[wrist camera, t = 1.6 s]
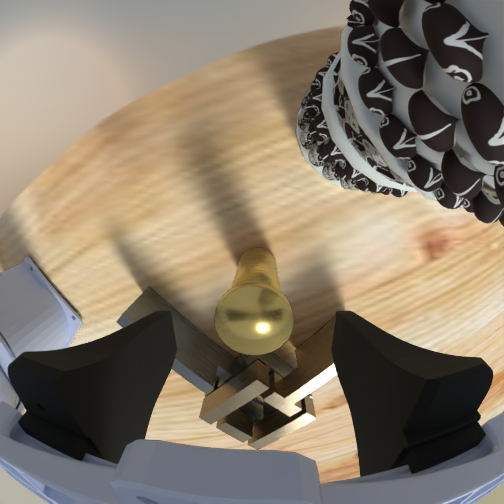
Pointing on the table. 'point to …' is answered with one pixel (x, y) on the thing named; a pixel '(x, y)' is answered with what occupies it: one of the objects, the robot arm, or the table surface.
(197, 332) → the fixed leaf
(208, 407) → the swing leaf
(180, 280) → the table surface
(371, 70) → the decorative candle
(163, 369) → the robot arm
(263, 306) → the hinge pin
